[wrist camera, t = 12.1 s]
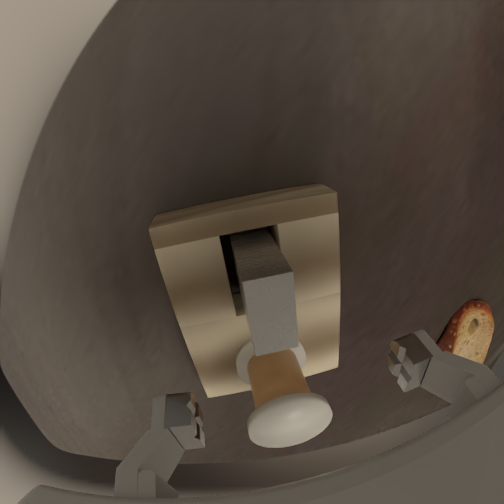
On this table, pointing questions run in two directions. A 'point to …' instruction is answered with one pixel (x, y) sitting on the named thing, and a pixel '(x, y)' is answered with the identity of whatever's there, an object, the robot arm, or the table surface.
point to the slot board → (230, 306)
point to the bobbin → (281, 397)
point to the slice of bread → (469, 331)
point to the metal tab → (265, 290)
